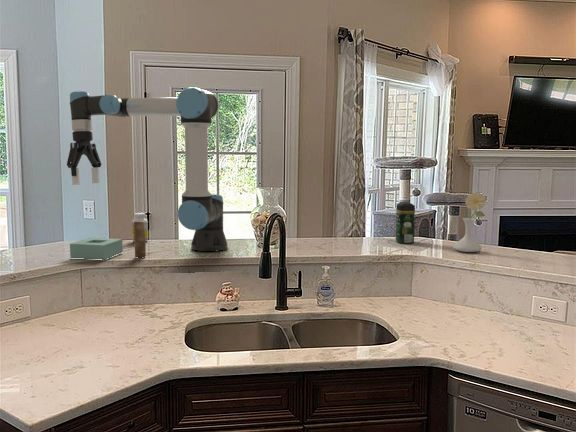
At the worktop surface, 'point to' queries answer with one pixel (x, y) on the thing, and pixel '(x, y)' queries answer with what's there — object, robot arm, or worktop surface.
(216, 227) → the robot arm
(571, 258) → the worktop surface
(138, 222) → the dowel
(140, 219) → the supplement bottle
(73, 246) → the socket block
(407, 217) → the coffee jar
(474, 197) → the flower in vase
